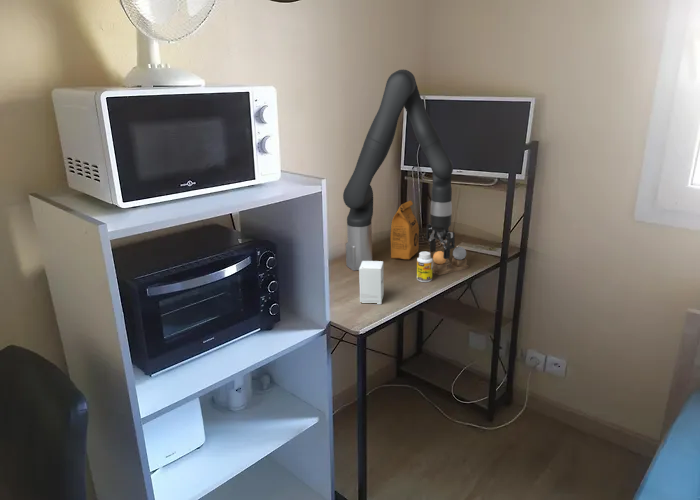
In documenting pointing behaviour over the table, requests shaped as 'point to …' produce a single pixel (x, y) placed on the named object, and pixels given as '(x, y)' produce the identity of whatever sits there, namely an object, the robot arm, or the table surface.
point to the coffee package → (404, 233)
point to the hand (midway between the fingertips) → (439, 254)
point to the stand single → (446, 260)
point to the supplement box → (371, 282)
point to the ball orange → (439, 257)
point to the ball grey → (459, 253)
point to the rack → (449, 266)
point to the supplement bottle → (424, 267)
